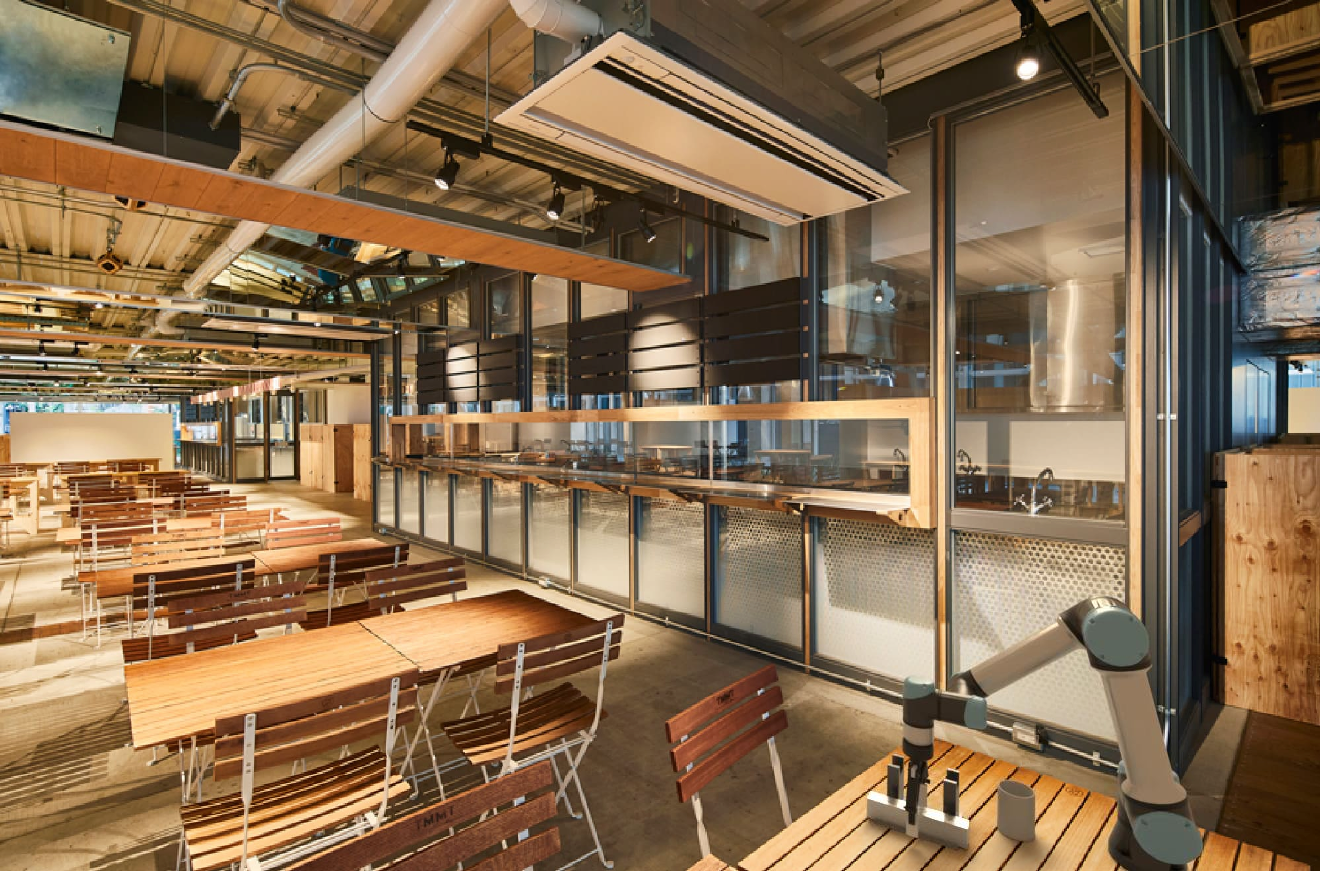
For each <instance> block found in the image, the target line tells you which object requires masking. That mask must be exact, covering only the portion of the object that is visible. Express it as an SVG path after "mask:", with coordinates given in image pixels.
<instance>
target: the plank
mask: <svg viewBox="0 0 1320 871" xmlns="http://www.w3.org/2000/svg"><path fill="white" fill-rule="evenodd" d="M873 821H874V822H873V824H875V825H879V826H881V827H885V828H887V829H891V830H894V831H897V832H900V833H903V834H906V830H905V829H902V828H899V827H896V826H893V825H890V824H887V823H884V822H880V821H877V820H873ZM917 839H921V840H925V841H929V842H930V843H934V844H937V845H940V846H943V847H946V848H949V849H953V850H954V851H955V850H957V851H959V848H960V847H958V846H955V845H952V844H949V843H946V842H943V841H940V840H937V839H933V838H930V837H927V836H924V835H921V834H918V838H917Z"/></svg>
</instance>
